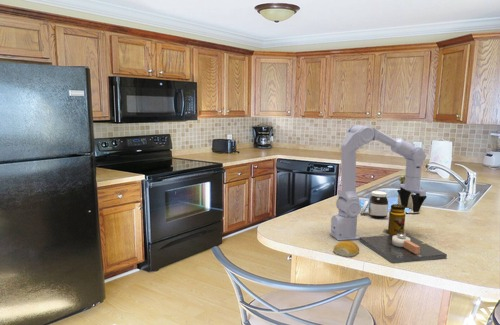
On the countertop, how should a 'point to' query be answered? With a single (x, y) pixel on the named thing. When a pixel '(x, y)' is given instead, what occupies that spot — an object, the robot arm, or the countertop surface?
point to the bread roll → (346, 249)
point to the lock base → (401, 249)
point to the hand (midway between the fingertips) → (410, 209)
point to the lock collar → (405, 244)
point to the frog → (410, 202)
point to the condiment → (395, 220)
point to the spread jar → (377, 205)
